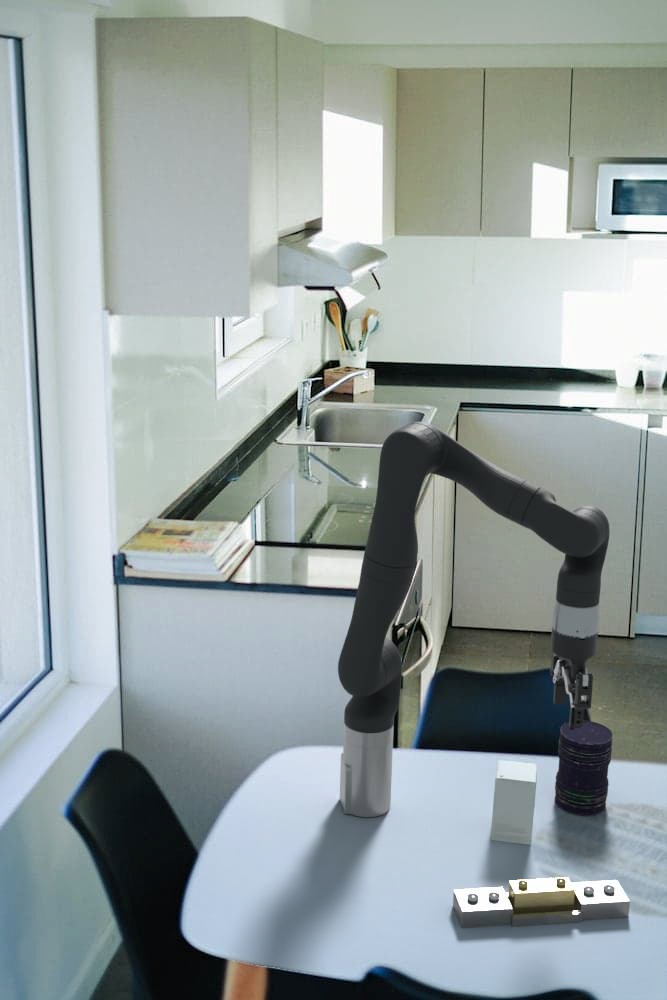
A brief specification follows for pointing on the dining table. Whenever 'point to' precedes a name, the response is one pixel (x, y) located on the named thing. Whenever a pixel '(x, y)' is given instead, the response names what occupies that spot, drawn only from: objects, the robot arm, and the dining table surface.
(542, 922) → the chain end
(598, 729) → the dark purple cylinder
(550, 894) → the link
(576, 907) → the chain end
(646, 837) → the dining table surface
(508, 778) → the supplement box
